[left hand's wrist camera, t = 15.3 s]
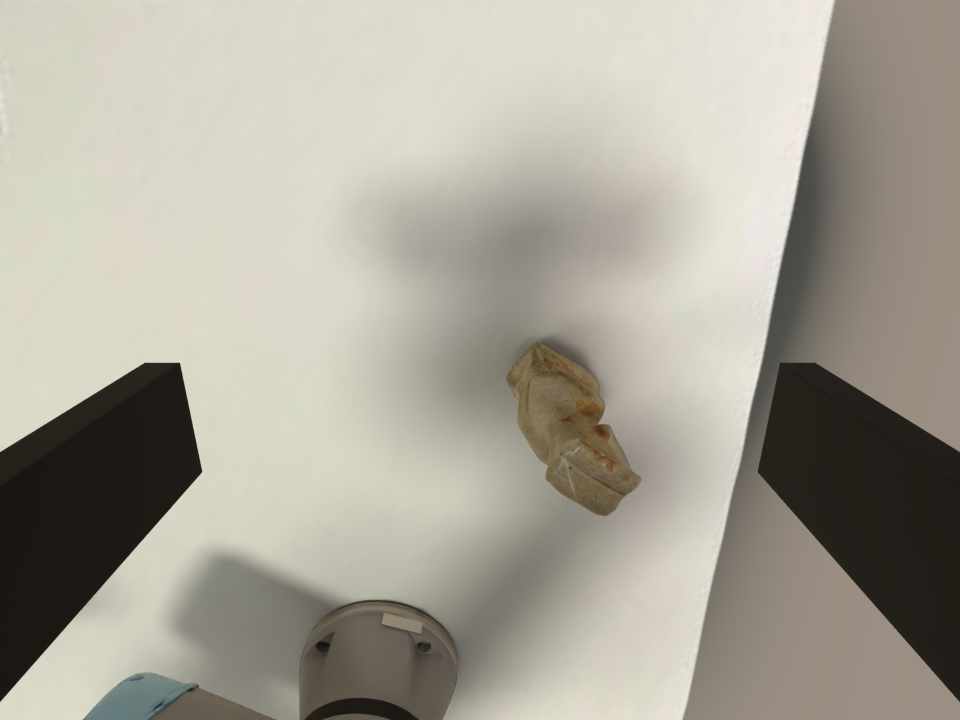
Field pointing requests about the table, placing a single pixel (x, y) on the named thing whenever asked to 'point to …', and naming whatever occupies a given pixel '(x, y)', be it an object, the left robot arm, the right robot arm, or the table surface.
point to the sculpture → (570, 429)
